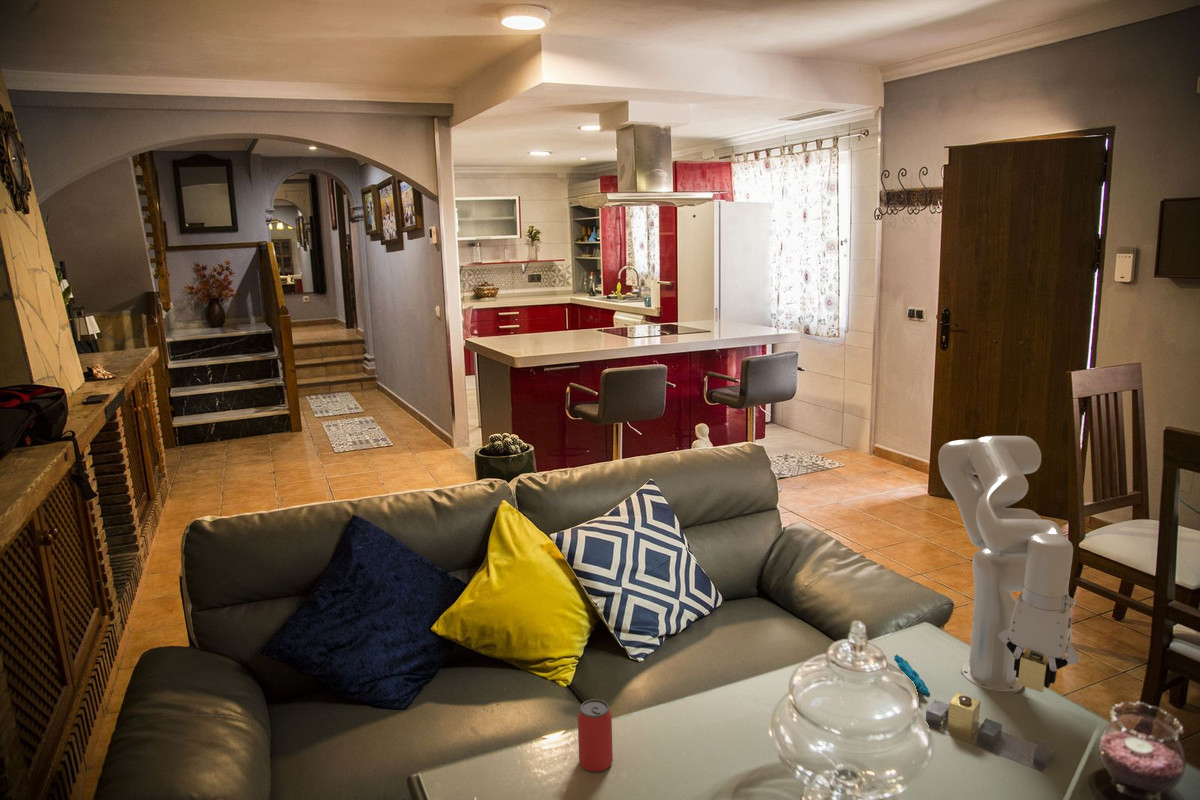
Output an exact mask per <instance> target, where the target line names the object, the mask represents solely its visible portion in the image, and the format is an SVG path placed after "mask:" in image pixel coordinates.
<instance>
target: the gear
mask: <svg viewBox="0 0 1200 800" xmlns="http://www.w3.org/2000/svg"><path fill="white" fill-rule="evenodd" d="M893 660H894V662H896V664H897V667H898V668H899V671H900V670H901V671H903V672H904V673H905V674H906V675H907V676H908V677H909V678H910V679H911V682H912V681H913V682H914V684H915V686H916V687H915V686H914V687H915V688H917V687H918V691H919V692H920V693H922V694H925V696H927V695H930V694H931V693H930V691H929V689H928V687H927V686H926V684H925V682H924V680H923V679H921V678H920V675H919V674H918V671H917V672H916V671H915V670H914V669H913V667H912V666H911V665H910V664H909V661H908V660H907V659H904V658H903V657H902V656H900V655H898V654H896V655H894V659H893Z"/></svg>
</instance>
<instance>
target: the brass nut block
mask: <svg viewBox="0 0 1200 800" xmlns="http://www.w3.org/2000/svg"><path fill="white" fill-rule="evenodd" d="M1048 667H1049V661H1048V655H1044V654H1041V653H1038V652H1035V651H1032V650H1029V649H1026V648H1025V649H1024V651H1023V655H1022V656H1021V660H1020V668H1019V676H1018V684H1019V685H1022V686H1023V687H1025V688H1028V689H1031V690H1034V691H1037V692H1040V693H1044V692H1045V690H1046V687H1045V686H1044V685H1045V678H1046V670H1047V668H1048Z"/></svg>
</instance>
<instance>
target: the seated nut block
mask: <svg viewBox="0 0 1200 800" xmlns="http://www.w3.org/2000/svg"><path fill="white" fill-rule="evenodd" d="M948 704H949V715H948V728H947V729H949V730H951V731H954V732H956V733H959V734H962V735H964V736H967V737H969V738H971V737H972V736H973V734H974V733H975V731H976V730H977V728H978V724H979V723H980V722H979V720H980V710H981V709H980V708H981V700H979V699H976V698H973V697H970V696H968V695H965V694H962V693H961V692H956V693H955V695H953V697H952V699H951V700H950V701H949V703H948Z"/></svg>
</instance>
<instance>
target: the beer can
mask: <svg viewBox="0 0 1200 800" xmlns="http://www.w3.org/2000/svg"><path fill="white" fill-rule="evenodd" d="M577 735H578V738H577V739H578V761H579V765H580V766H581V768H583V769H584V770H586V771H589V772H592V773H593V772H594V773H595V772H596V773H597V772H604V771H605V770H607V769H609V767H610V766H611V765H612V763H613V759H614V758H613V755H614V754H613V719H612V713H611V710H610V705H609V704H608V703H607V702H606V701H605V700H602V699H598V698H597V699H596V698H595V699H594V698H593V699H588V700H585V701H584V702H583V703H581V705H580V707H579V711H578V714H577Z"/></svg>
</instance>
